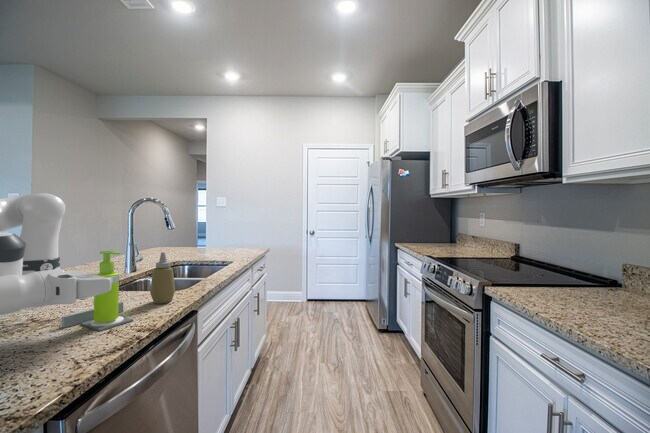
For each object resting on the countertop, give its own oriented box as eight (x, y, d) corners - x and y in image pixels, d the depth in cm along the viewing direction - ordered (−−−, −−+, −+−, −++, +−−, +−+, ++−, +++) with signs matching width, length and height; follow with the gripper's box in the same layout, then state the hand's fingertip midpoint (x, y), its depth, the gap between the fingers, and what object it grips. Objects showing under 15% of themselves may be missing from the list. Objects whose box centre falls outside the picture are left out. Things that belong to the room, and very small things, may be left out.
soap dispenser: (108, 323, 85) (109, 252, 85) (88, 321, 87) (89, 251, 87) (126, 316, 91) (126, 250, 91) (107, 314, 93) (107, 249, 92)
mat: (80, 324, 88) (80, 322, 88) (114, 315, 96) (114, 313, 96) (99, 331, 83) (99, 329, 83) (133, 321, 91) (133, 319, 91)
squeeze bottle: (176, 297, 116) (176, 250, 115) (174, 303, 108) (174, 253, 108) (152, 299, 113) (152, 251, 112) (148, 306, 105) (148, 254, 105)
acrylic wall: (61, 327, 86) (61, 316, 86) (121, 310, 100) (121, 301, 100) (63, 327, 85) (63, 317, 85) (123, 311, 99) (123, 302, 99)
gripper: (33, 293, 82) (91, 283, 95) (72, 305, 73) (130, 292, 85) (33, 270, 82) (91, 263, 95) (72, 279, 73) (131, 269, 85)
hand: (110, 277), depth 90 cm, fingers closed on soap dispenser, 6 cm apart
